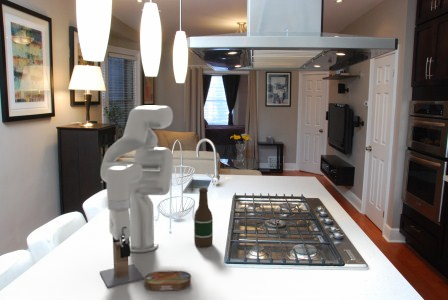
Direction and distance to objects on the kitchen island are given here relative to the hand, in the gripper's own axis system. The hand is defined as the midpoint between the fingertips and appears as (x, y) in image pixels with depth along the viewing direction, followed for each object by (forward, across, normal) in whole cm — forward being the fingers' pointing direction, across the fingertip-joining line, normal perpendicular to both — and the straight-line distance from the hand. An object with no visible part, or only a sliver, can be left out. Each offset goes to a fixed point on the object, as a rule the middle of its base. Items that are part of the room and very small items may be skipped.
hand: (121, 251), depth 125 cm
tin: (+7, +10, +13) cm, 18 cm away
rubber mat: (+8, +1, -1) cm, 9 cm away
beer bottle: (+10, -10, +36) cm, 39 cm away
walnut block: (+8, +1, -1) cm, 8 cm away
